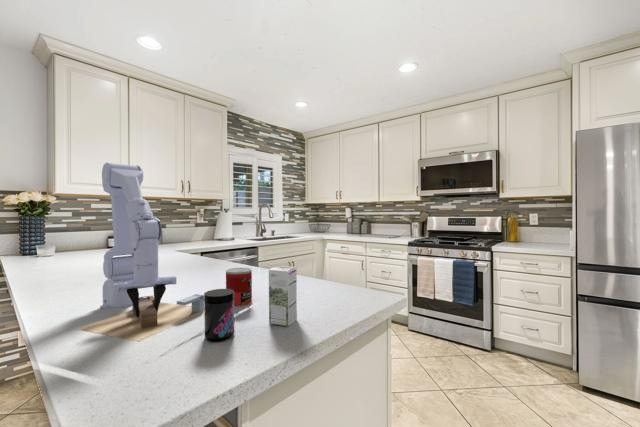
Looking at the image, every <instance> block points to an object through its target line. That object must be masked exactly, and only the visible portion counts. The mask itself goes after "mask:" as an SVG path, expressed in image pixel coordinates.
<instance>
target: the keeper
mask: <svg viewBox="0 0 640 427" xmlns="http://www.w3.org/2000/svg"><path fill="white" fill-rule="evenodd" d="M190 304H191V306H192V312H197V313H200V312H203V311H204V294H197V293H196V294H194V295H191V296H188V297H185V298H181V299H180V300H177V301H176V305H184V306H188V305H190ZM203 313H204V312H203Z"/></svg>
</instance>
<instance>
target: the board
mask: <svg viewBox="0 0 640 427" xmlns="http://www.w3.org/2000/svg"><path fill="white" fill-rule="evenodd" d="M203 313H204V311H203V312H200V313H197V312H192V305H191V306H189V305H178V304H177V303H176V304H175V303H168V302H161V301H160V304H159V307H158V313H157V326H153V327H148V328H143V329H142V328H141V324H140V321H139V317H136V314H133V310H132V309H131V310H129V311H125V312H122V313H120V314H117V315H113V316H110V317H107V318H105V319H102V320H98V321H96V322H92V323H90V324H86V325H84V326H80V327H78V328H76V330H79V331H84V332H89V333H94V334H97V335H98V334H99V335H103V336H110V337H114V338H119V339H123V340H124V339H125V340H130V341H134V342H142V341H144V340H146V339H147V338H150V337H152V336H154V335H157V334H159V333H161V332H164V331H165V330H167V329H170V328H172V327H174V326H177V325H178V324H181V323H183V322H185V321H188V320H190V319H192V318H194V317H197V316H198V315H201V314H203Z"/></svg>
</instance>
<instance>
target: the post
mask: <svg viewBox="0 0 640 427" xmlns="http://www.w3.org/2000/svg"><path fill="white" fill-rule="evenodd" d="M139 297H140V298H139V301H143V300H148V297H147V296H146V295H145V296H139Z"/></svg>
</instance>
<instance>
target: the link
mask: <svg viewBox="0 0 640 427" xmlns="http://www.w3.org/2000/svg"><path fill="white" fill-rule="evenodd" d="M140 297H141V296H139V298H140ZM147 297H148V300H143V301H139V321H140V324H141V328H142V329H143V328H148V327H153V326H157V311H156V309H155V307H154V294H153V295H148V296H147ZM131 307H132V309H131V310H133V314H136V313H135V308H134V305H133V303H132V305H131Z"/></svg>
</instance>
